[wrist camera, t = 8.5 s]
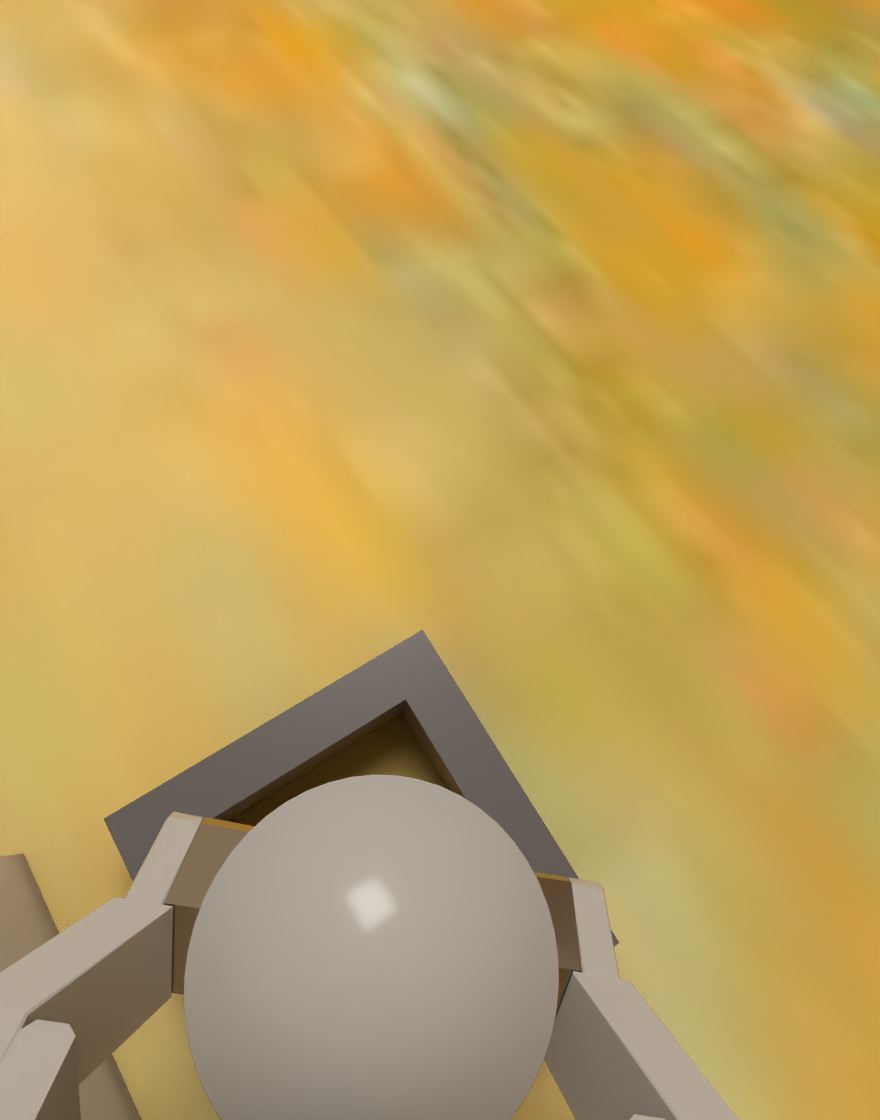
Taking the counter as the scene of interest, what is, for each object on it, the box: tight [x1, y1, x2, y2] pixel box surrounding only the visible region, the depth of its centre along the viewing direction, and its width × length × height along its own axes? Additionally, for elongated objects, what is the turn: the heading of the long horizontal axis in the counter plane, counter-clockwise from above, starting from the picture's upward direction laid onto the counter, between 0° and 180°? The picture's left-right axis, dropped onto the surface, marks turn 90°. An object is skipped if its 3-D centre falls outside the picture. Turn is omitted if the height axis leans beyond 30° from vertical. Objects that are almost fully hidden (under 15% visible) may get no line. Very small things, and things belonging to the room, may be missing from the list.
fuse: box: [184, 775, 559, 1120], centre depth 12 cm, size 4×4×9 cm
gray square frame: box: [104, 630, 619, 946], centre depth 17 cm, size 8×8×2 cm
